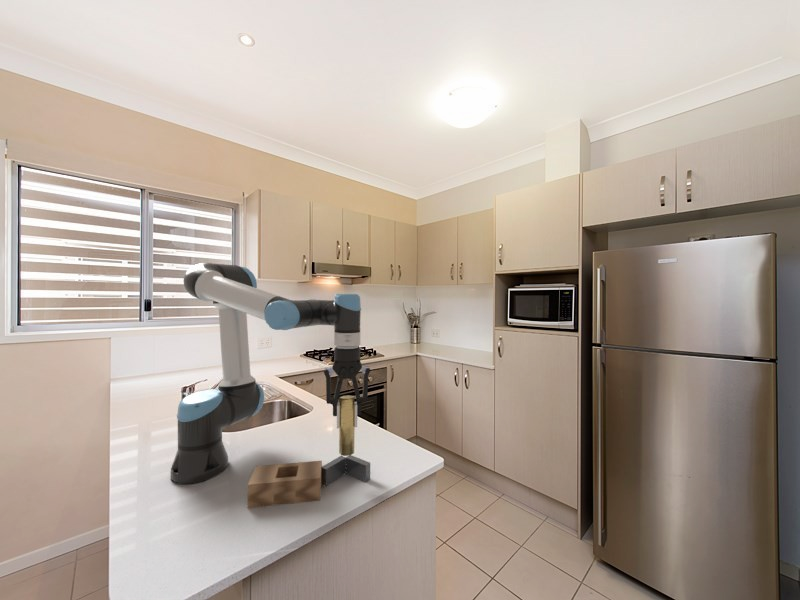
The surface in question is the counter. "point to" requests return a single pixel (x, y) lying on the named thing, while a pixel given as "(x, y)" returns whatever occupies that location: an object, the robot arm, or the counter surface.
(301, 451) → the counter surface
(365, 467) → the v block
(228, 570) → the counter surface
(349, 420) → the axle
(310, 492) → the wooden block with hole
